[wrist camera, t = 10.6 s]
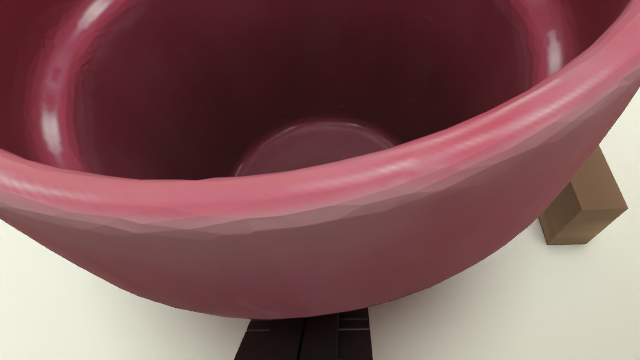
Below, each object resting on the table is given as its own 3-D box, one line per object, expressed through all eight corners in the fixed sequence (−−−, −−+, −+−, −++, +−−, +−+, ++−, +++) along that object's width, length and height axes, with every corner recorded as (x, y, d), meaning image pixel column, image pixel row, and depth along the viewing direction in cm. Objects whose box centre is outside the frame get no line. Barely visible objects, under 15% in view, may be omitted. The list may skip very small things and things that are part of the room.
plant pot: (194, 103, 22) (40, -203, 12) (448, 83, 21) (535, -268, 11) (137, 390, 15) (-491, 268, 4) (530, 375, 14) (1144, 165, 3)
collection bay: (505, 30, 23) (522, -19, 21) (586, 243, 16) (628, 208, 13) (161, 53, 25) (138, 10, 22) (92, 256, 18) (47, 226, 15)
